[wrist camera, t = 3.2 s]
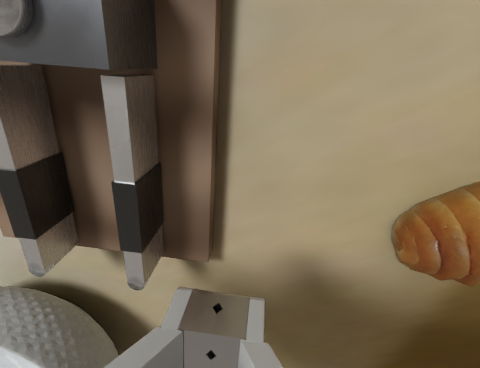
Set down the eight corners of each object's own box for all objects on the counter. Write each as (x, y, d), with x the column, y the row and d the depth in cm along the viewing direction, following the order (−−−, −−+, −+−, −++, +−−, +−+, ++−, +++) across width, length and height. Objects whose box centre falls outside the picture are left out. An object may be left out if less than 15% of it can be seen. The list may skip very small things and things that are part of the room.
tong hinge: (2, -37, 12) (-156, -99, 8) (152, -29, 12) (78, -88, 7) (24, 57, 14) (-96, 53, 9) (157, 68, 14) (99, 69, 9)
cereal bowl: (-19, 220, 21) (-146, 289, 15) (173, 309, 23) (135, 404, 16) (-32, 340, 28) (-123, 423, 21) (117, 401, 30) (74, 495, 23)
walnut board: (-91, -139, 13) (-135, -163, 11) (226, -128, 12) (220, -154, 10) (21, 224, 21) (3, 236, 19) (212, 248, 20) (208, 262, 18)
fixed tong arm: (23, 64, 14) (-42, 63, 11) (44, 65, 14) (-15, 65, 11) (65, 243, 19) (27, 276, 16) (81, 245, 19) (47, 279, 16)
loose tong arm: (133, 73, 14) (96, 74, 11) (156, 75, 14) (125, 77, 11) (148, 254, 18) (125, 289, 15) (165, 256, 18) (146, 292, 15)
